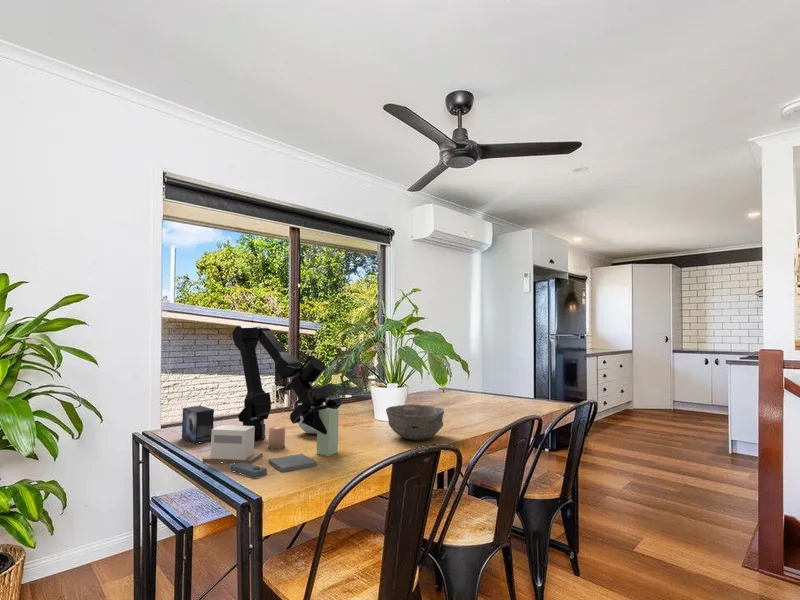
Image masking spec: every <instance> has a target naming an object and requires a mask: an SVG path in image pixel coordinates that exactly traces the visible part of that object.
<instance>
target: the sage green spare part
mask: <svg viewBox="0 0 800 600" xmlns="http://www.w3.org/2000/svg"><path fill="white" fill-rule="evenodd" d="M339 411H340V410H339V409H329V408H326V409H322V410H319V418H320V419H321V421H322V423H323V425H324V426H325V428H326V430H327V433H326V434H323V433H321V432H319V431H318V430H317V433H316V455H319V454H320V456H324V455H325V457H329V456H333V455H336V454H338V452H339V417H340V416H339V414H340V412H339ZM335 453H336V454H335ZM332 454H333V455H332Z"/></svg>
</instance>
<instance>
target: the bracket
mask: <svg viewBox="0 0 800 600" xmlns="http://www.w3.org/2000/svg"><path fill="white" fill-rule="evenodd" d="M230 470H231V471H230ZM229 471H230V472H232V471H235V472H237V473H236V474H239V473H241V474H240V475H242V474H243V475H242V476H245V475H246V477H249V476H250V478H251V479H257V478H259V477H263V476H266V475H267V474H268V473H267V472H268V468H267V467H263V466H260V465H256V464H253V463H252V464H249V463H245V462H239V463H235V464H230V465H229ZM235 472H234V473H235Z"/></svg>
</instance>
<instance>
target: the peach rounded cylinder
mask: <svg viewBox="0 0 800 600" xmlns="http://www.w3.org/2000/svg"><path fill="white" fill-rule="evenodd" d="M285 440H286V426H283V425H278V426H277V425H276V426H271V427H269V428H268V449H271V450H279V448H280V449H283V447H284V448H285V447H286V446H285V444H286V441H285Z"/></svg>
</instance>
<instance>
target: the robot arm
mask: <svg viewBox="0 0 800 600" xmlns="http://www.w3.org/2000/svg"><path fill="white" fill-rule="evenodd" d="M271 331H272V330H271V329H270V328H269V327H268V326H256V327H255V326H253V325H237V326H235V328H234V329H233V330H232V333H231V335H232V339H233V344H234V346H235V347H236V349H238V351H240V356H241V362H242V368H243V374H244V379H245V385H246V391H247V393H246V395H245V399H244V401H243V402H244V407H243V409H242V410H241V411H240V413H239V414H238V415H237V417H238V421H239V422H240V423H242V426H255V431H254V442H255V441H260V440H262V439H263V438H265V437H266V424H265V420H267V419H268V418H269V415H270V413H271V411H272V404H273V403H272V400H271V394H270V392H266V391H265V390H264V389H263V386H262V385H263V384H262V380H261V374H260V369H259V362H258V356H257V352H256V351H257V349H256V348H257V346H258V343H260V345H262V347H263V348H264V350H265V351H266V352H267V354H268V355H269V356H270V357H271V359H272V360H273V362H274V368H275V370H276V373H277V375H278V376H279V377H280V379H285V380H287V379H291V380H290V381H287V383H286V386H285V391H293V393H294V394H295V396H296V397H297V400H296V404H298V405H297V406H296V407H295V408H294V409H293V410H292V411H291V413H290V414H289V420H290V422H291V423H292V424H298V423H299V422H300V420H301V418H300V416H303V419H304V420H303V421H302V424H306V425H308V426H310V427H312V428H314V429H316V430H318V431H319V432H321V433H323V434H326V433H327V430H326V428H325V426H324V425H323V423H322V421H321V419H320V418H319V410H322V409H326V408H329V409H337V410H339V408H340V407H341V406H342V405H343V402H342V400H341V399H340V398H339V397H335V398H329V397H331V396H334V395H335V393H336V389H337V388H336V386H335V385H334V384H333V383H332V382H329V383H327V384H325V385H322V386H320V387H315V388H314V387H313V384H311V383H315V382H317V380H318V379H319V378H320V377H321V375H322V374H323V373H324V372H325V371H326V368H327V366H326V364H325V363H324V362H323V360H321V359H320V358H317V357H315V355H309V356H308V357H307V358H306V359H305V361H304V362H303V363H302V362H301V361H300V360H299V359H298V358H296V357H295V356H294V355H292V354H290V353H288V352H287V351H286V350H285V348H284V347H283V346H282V344H281V343H280V342H279V340H278V339H277V338H276V336H274V334H273V333H272V332H271ZM328 398H329V399H328ZM323 403H325V404H324V405H323Z"/></svg>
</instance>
